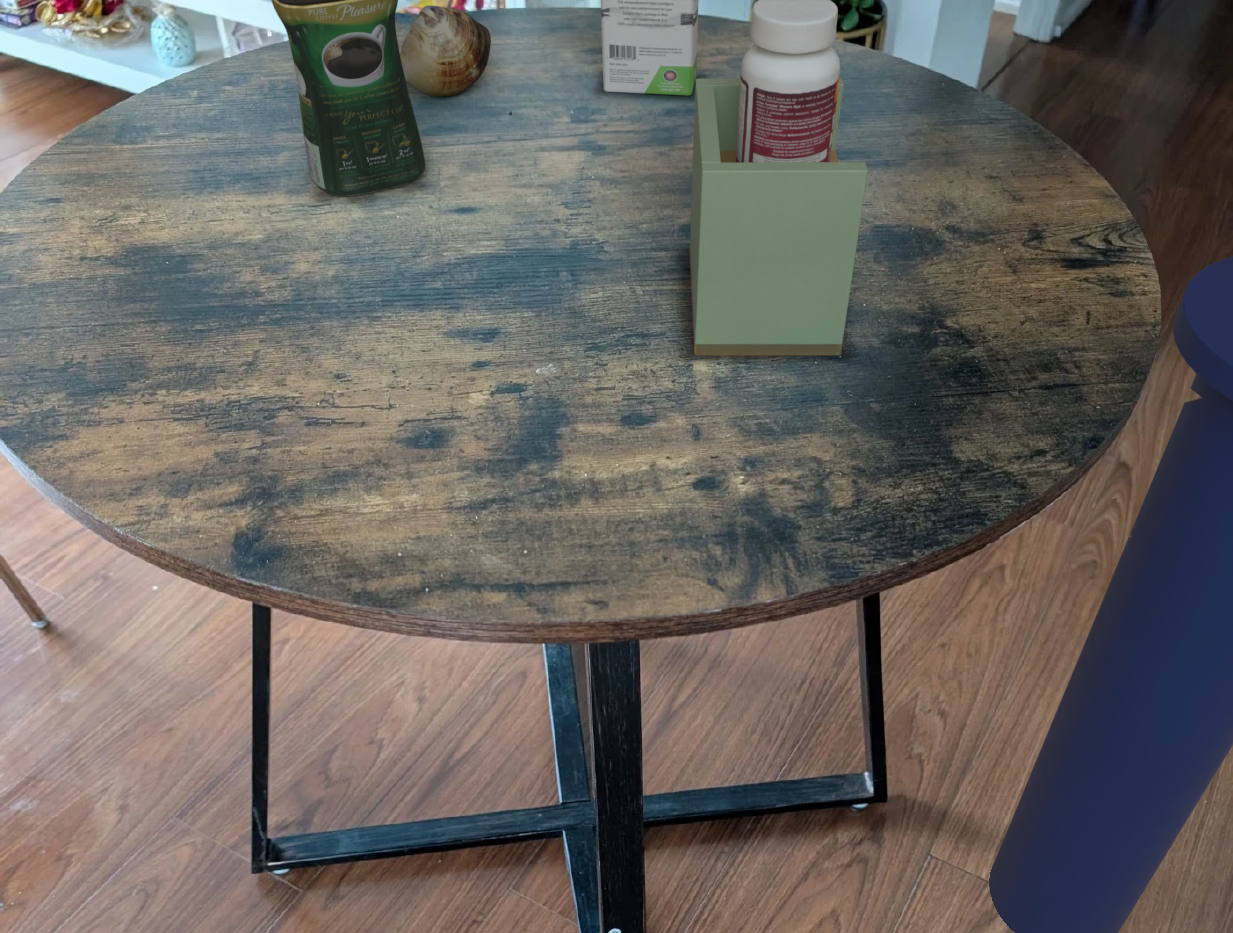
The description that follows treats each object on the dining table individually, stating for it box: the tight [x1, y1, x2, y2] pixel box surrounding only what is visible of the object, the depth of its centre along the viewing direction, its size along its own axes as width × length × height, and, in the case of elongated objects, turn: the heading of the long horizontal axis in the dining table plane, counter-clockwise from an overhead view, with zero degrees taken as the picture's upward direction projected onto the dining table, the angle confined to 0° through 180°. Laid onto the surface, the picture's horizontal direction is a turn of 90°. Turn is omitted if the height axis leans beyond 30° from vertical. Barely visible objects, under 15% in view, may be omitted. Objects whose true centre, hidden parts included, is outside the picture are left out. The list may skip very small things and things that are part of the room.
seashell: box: [400, 5, 492, 97], centre depth 107 cm, size 10×6×8 cm, turn 127°
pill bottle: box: [736, 0, 841, 163], centre depth 74 cm, size 6×6×11 cm
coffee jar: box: [271, 0, 426, 197], centre depth 92 cm, size 10×8×19 cm
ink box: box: [600, 0, 699, 96], centre depth 107 cm, size 9×5×12 cm, turn 80°
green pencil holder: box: [689, 77, 869, 356], centre depth 79 cm, size 10×14×13 cm
